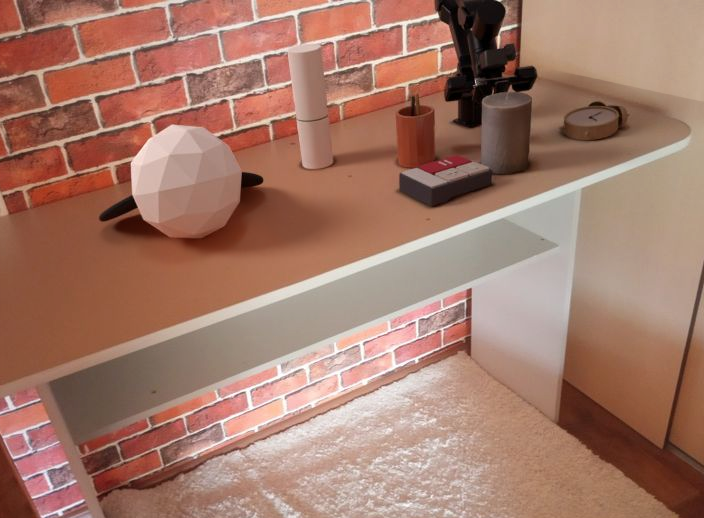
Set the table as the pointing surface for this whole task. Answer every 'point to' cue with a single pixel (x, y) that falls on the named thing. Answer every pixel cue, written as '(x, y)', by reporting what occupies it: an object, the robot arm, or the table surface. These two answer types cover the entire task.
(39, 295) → the table surface
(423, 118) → the pen pot
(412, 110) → the pencils
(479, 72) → the robot arm
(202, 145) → the faceted geodesic sphere
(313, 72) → the cylindrical container
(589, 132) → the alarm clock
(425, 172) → the calculator
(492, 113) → the pillar candle
